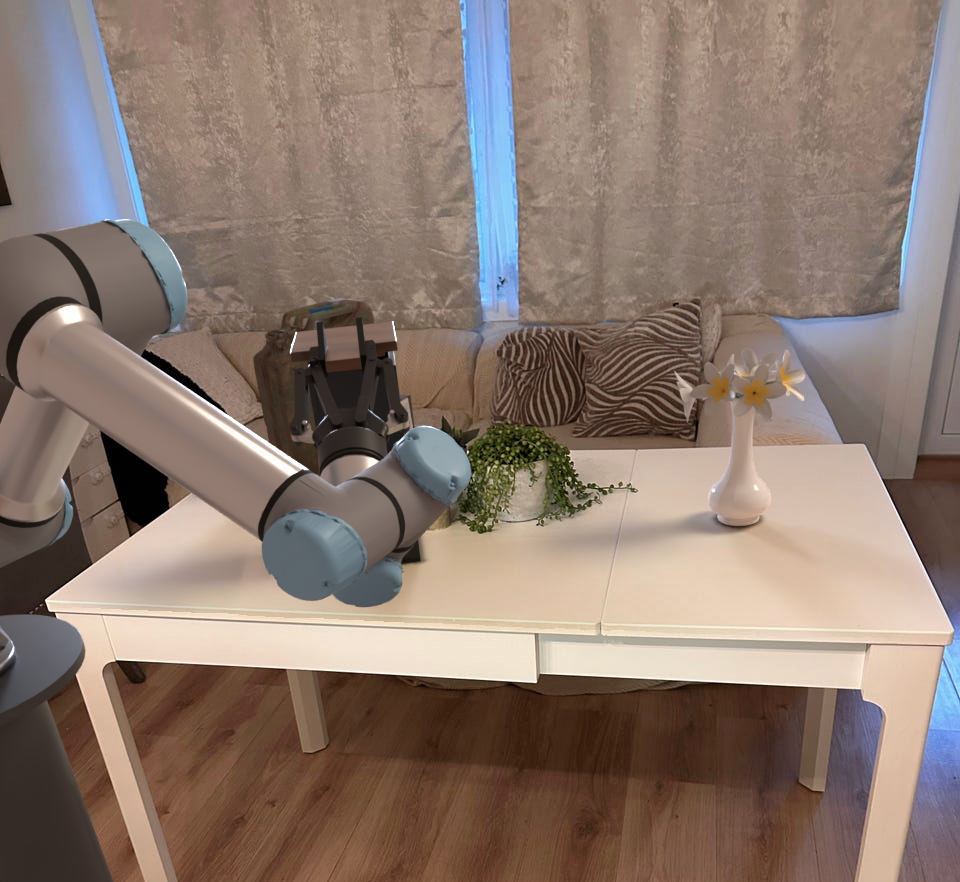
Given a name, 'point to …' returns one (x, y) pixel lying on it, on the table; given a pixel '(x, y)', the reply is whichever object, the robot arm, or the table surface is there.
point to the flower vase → (743, 426)
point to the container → (279, 371)
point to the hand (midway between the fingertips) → (340, 329)
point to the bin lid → (344, 345)
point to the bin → (346, 395)
